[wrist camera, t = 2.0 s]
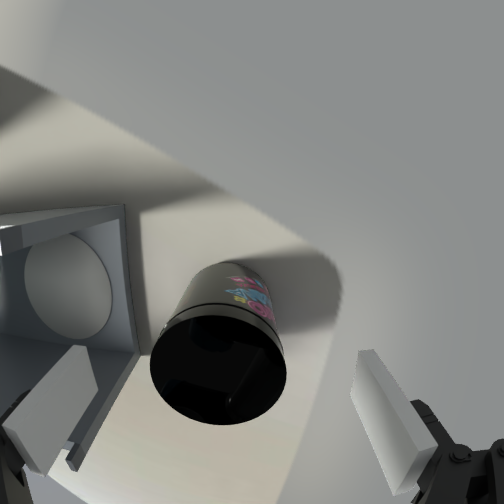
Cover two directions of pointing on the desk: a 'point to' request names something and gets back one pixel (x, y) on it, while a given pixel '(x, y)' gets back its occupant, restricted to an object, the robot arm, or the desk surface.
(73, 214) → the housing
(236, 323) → the supplement container
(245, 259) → the desk surface
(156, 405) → the desk surface
